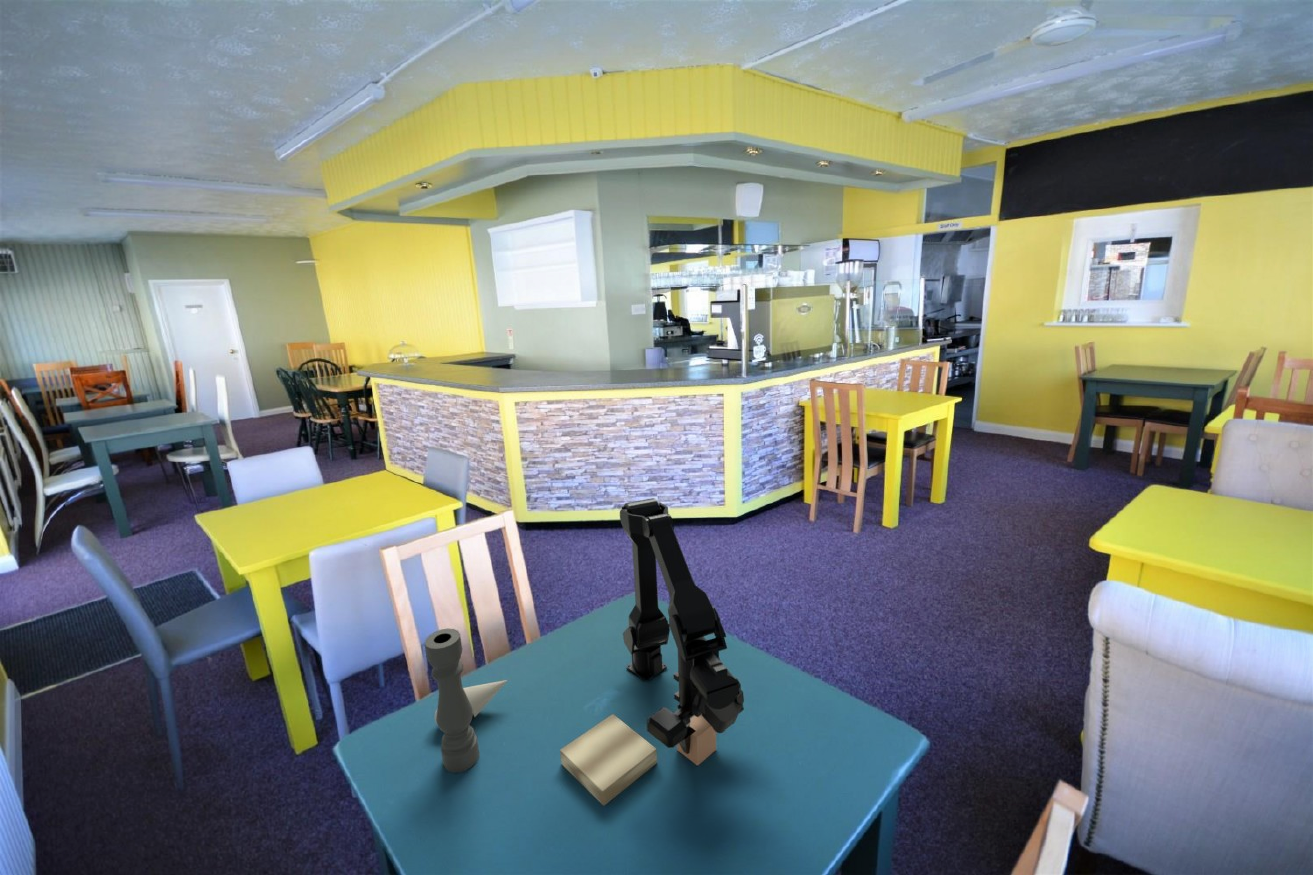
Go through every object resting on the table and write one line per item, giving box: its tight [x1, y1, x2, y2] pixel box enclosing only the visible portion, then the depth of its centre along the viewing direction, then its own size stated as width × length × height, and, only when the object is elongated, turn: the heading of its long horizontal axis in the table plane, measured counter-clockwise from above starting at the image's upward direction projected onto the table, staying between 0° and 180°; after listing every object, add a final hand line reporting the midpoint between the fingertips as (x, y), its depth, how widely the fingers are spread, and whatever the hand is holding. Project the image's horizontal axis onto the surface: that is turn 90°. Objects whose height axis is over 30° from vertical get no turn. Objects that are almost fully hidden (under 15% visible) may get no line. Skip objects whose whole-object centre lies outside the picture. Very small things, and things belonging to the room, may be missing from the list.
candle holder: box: [424, 628, 480, 774], centre depth 100 cm, size 6×6×25 cm
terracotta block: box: [676, 713, 717, 766], centre depth 103 cm, size 5×5×6 cm
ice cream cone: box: [433, 679, 509, 725], centre depth 114 cm, size 6×6×15 cm
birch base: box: [559, 713, 658, 807], centre depth 101 cm, size 12×12×3 cm
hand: (696, 743), depth 103 cm, fingers closed on terracotta block, 5 cm apart
